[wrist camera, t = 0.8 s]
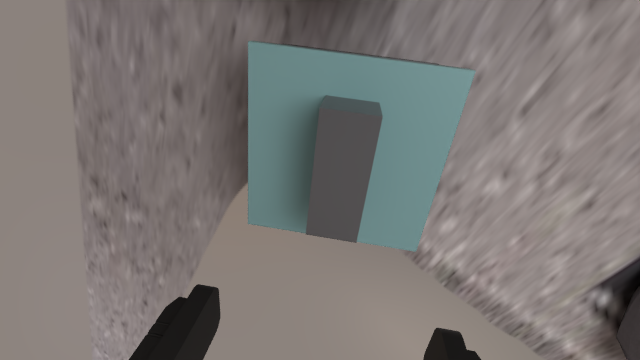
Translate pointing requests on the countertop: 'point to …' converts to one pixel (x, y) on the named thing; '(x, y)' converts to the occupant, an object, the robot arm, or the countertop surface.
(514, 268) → the countertop surface
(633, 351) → the soft grey pack
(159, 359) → the robot arm
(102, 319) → the countertop surface
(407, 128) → the lid
